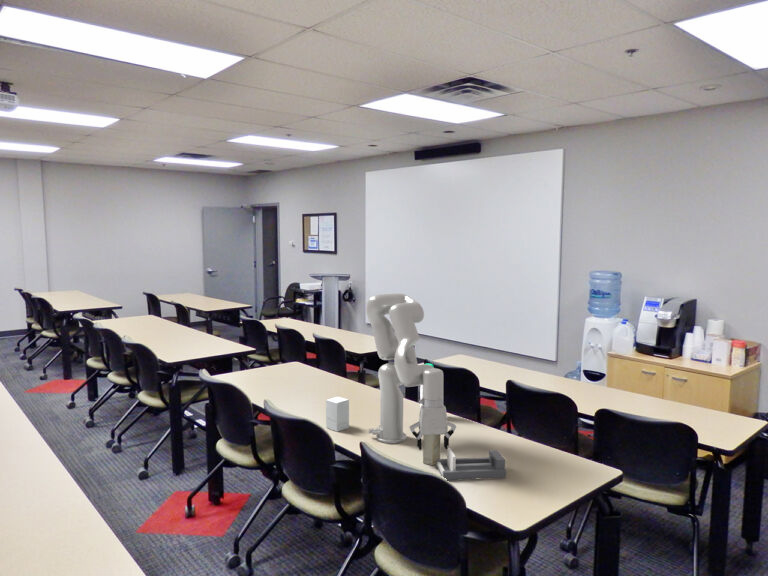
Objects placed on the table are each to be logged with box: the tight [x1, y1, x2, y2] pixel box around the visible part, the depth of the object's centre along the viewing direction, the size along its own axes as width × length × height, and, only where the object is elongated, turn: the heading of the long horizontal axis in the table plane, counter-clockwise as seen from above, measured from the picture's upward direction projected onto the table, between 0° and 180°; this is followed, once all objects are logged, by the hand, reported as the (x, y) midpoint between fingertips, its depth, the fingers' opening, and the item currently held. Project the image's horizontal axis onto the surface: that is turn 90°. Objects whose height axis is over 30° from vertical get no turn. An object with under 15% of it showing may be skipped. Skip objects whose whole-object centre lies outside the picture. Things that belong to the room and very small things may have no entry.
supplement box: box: [325, 396, 350, 432], centre depth 224 cm, size 7×7×13 cm
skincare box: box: [422, 433, 441, 466], centre depth 190 cm, size 6×4×12 cm
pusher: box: [446, 447, 492, 471], centre depth 182 cm, size 15×8×6 cm, turn 96°
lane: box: [436, 449, 507, 481], centre depth 182 cm, size 22×11×6 cm, turn 96°
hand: (432, 448), depth 189 cm, fingers open, 9 cm apart
